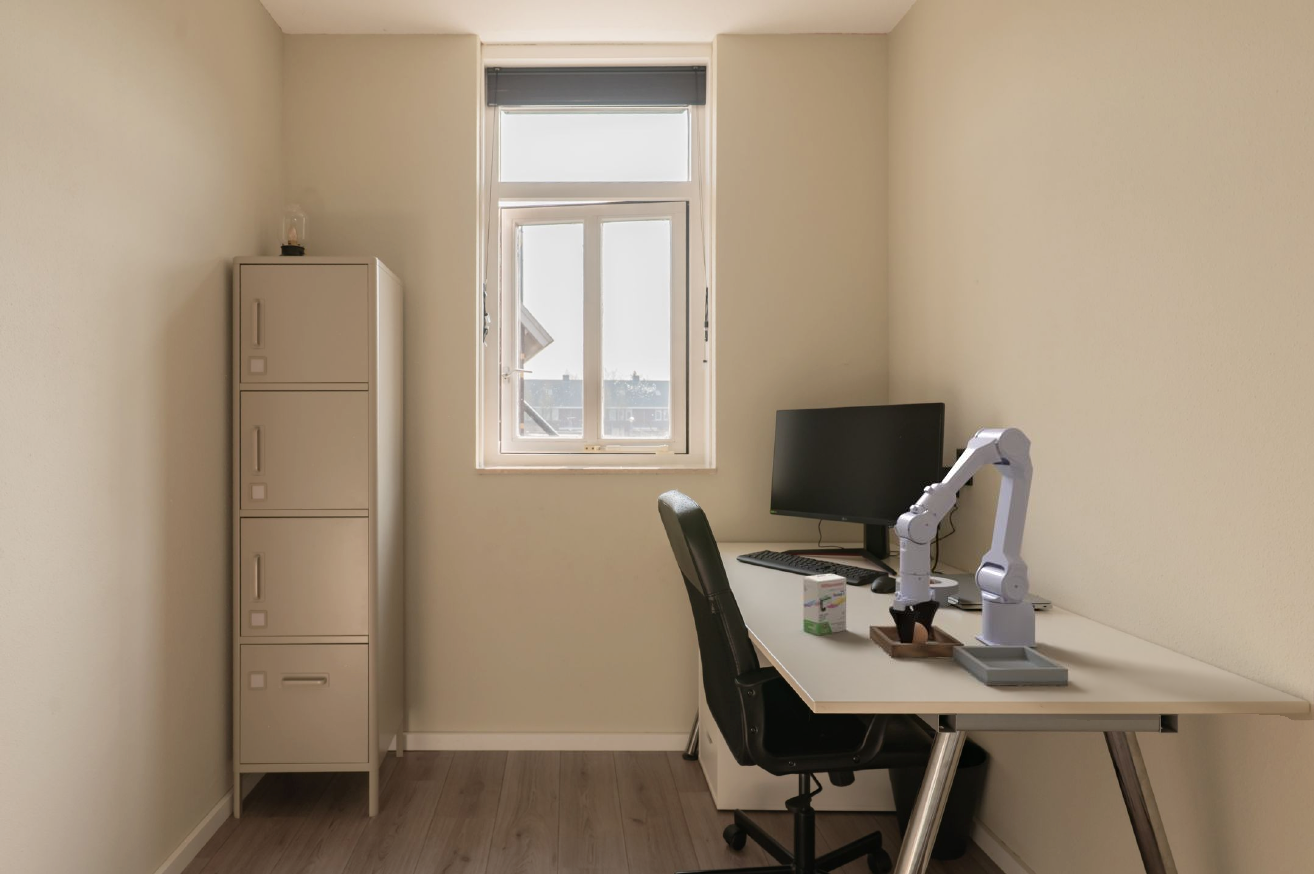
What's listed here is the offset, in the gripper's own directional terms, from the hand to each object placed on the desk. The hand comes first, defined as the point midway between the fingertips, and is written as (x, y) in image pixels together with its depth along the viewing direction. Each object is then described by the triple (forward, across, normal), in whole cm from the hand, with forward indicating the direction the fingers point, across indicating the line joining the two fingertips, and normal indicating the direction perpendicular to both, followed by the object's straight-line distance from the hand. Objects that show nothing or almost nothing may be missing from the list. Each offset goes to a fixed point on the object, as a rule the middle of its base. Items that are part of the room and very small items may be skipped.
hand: (914, 640), depth 151 cm
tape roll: (+2, -43, -17) cm, 47 cm away
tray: (+1, +4, +19) cm, 19 cm away
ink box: (+2, +1, -20) cm, 20 cm away
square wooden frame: (+1, 0, 0) cm, 1 cm away
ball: (-1, 0, 0) cm, 1 cm away
